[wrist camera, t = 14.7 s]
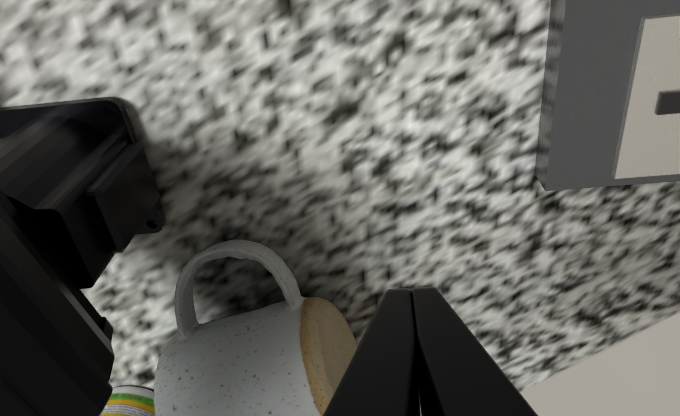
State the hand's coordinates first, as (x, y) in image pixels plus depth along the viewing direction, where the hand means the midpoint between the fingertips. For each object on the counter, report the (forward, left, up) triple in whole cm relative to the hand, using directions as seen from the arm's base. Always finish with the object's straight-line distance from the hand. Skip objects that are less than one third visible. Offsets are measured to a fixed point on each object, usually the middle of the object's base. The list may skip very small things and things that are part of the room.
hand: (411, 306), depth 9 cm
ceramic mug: (-7, -12, -13) cm, 20 cm away
